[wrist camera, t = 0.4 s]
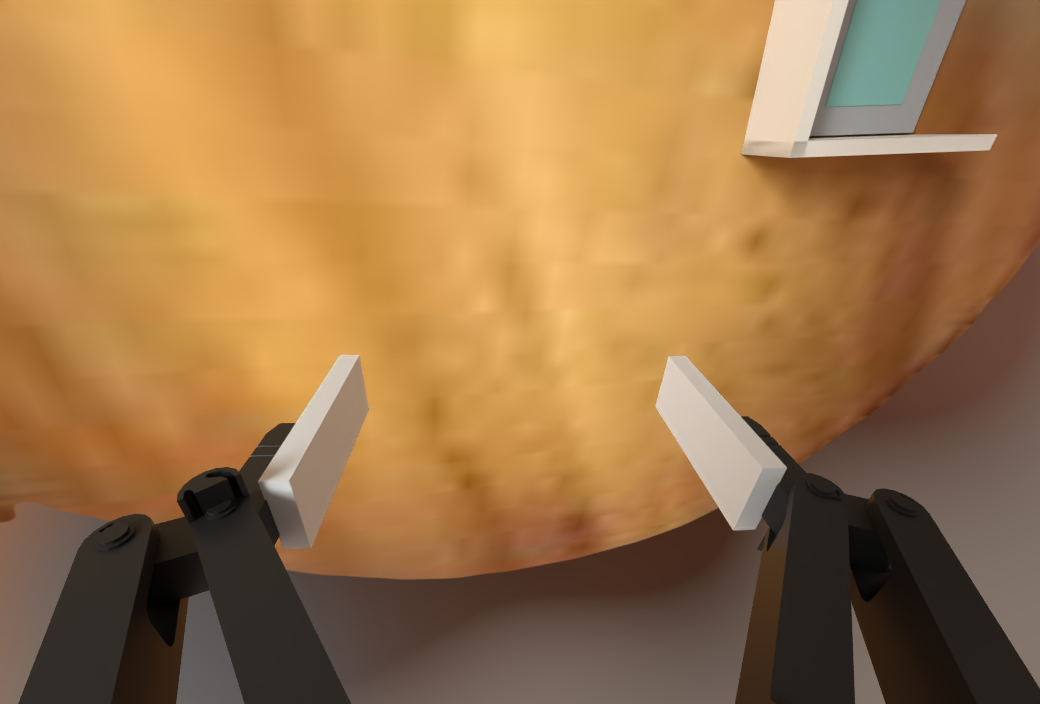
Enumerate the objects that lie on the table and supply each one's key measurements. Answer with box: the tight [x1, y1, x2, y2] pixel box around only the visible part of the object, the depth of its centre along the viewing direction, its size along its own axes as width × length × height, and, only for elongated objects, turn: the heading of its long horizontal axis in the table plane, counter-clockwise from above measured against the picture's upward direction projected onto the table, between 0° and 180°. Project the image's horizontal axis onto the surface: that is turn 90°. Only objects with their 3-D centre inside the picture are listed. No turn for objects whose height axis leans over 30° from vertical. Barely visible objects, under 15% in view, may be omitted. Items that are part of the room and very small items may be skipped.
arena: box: [742, 0, 997, 158], centre depth 32 cm, size 18×18×7 cm
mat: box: [810, 0, 966, 136], centre depth 34 cm, size 16×15×1 cm
